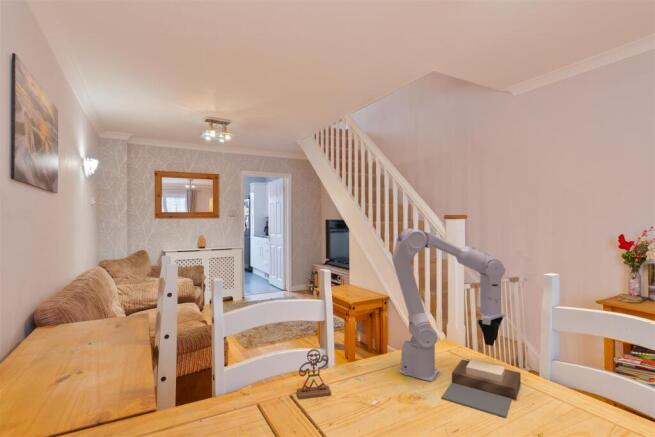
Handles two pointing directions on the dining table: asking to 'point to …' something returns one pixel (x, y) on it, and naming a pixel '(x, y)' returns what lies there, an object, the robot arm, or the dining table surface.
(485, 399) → the mat
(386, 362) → the dining table surface
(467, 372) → the tile
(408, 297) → the robot arm
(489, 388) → the block
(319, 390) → the gingerbread man figurine
